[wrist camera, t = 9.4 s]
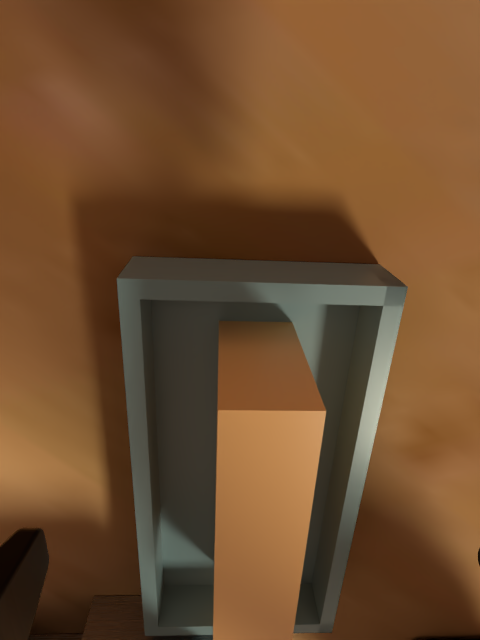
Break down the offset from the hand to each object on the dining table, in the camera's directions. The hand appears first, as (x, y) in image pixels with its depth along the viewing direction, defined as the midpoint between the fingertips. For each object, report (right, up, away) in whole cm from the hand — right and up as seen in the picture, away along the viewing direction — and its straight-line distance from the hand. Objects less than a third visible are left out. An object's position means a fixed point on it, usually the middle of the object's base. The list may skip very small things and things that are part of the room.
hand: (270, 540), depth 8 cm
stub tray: (0, -1, +9) cm, 9 cm away
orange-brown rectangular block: (0, -1, +8) cm, 8 cm away
